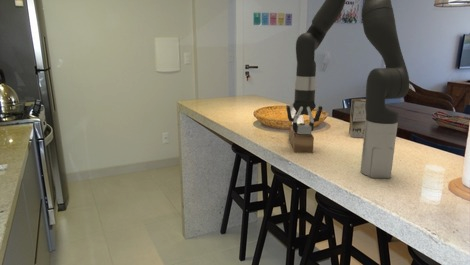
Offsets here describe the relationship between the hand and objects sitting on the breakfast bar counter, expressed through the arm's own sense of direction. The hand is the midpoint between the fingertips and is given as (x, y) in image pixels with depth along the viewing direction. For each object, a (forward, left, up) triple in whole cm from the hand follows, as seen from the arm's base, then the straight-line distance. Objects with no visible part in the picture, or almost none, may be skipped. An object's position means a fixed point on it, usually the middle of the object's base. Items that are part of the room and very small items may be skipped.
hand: (302, 131), depth 134 cm
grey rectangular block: (0, 0, 0) cm, 0 cm away
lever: (+13, 0, -1) cm, 13 cm away
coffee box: (+22, -28, -7) cm, 36 cm away
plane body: (+4, 0, -7) cm, 8 cm away
